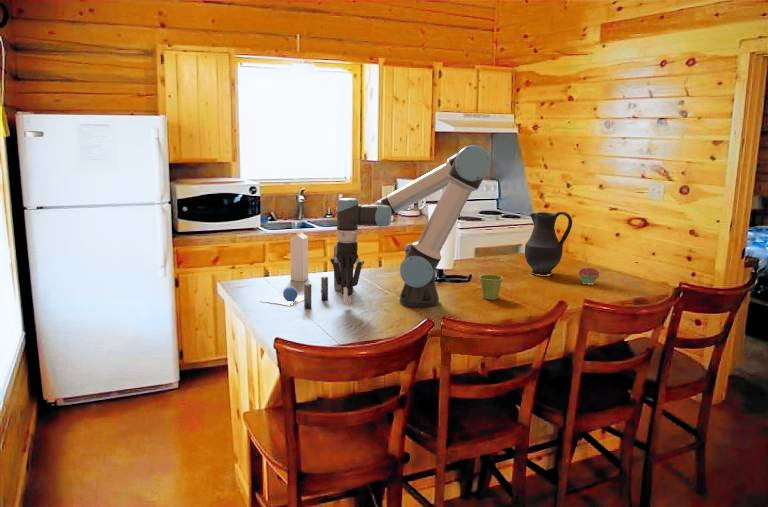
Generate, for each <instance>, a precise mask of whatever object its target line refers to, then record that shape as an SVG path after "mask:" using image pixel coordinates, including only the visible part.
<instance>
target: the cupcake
mask: <svg viewBox="0 0 768 507" xmlns="http://www.w3.org/2000/svg"><path fill="white" fill-rule="evenodd" d="M578 275H579V276H580V279H581V282H584V283H594V284H595V283H596V280H597V279H598V278H599V277H600V272H599V271H598V270H597V269H594V268H592V267H591V268H589V266H588V259H587V258H585V268H581V270H579V271H578Z"/></svg>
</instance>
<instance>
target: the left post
mask: <svg viewBox="0 0 768 507" xmlns="http://www.w3.org/2000/svg"><path fill="white" fill-rule="evenodd" d="M303 296H304V301H303V303H304V306H303V309H304V310H311V309H312V284H310V283H305V284H303Z"/></svg>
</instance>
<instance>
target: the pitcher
mask: <svg viewBox="0 0 768 507" xmlns="http://www.w3.org/2000/svg"><path fill="white" fill-rule="evenodd" d="M561 215H562V216H564V217H566V218H567V222H568V223H567V226H566V229H565V231H564V233H563V235H562V236H561V238H560V240H559V239H558V237H557V233H556V230H555V225H556V222H557V218H558V217H559V216H561ZM529 216H530V218H531V221H532V223H533V229H532V232H531V234H530V237H529V239H528V240H527V242H526V243H525V245H524V258H525V261H526V263H527V265H529V267H530V268H531V269H532V270H531V272H532V273H534V274H540V275H547V274H551V273H552V271H553V270H554V269H555V268H557V266H558V265H559V263H560V262H561V259H562V257H563V248H564V244H565V242H566V240H567V238H568V236H569V235H570V232H571V230H572V226H573V218H572V217H571V215H570V214H569V213H568V212H566V211H558V212H556V213H553V212H547V211H538V212H534V213H530V214H529ZM552 274H553V273H552Z"/></svg>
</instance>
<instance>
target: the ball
mask: <svg viewBox="0 0 768 507" xmlns="http://www.w3.org/2000/svg"><path fill="white" fill-rule="evenodd" d="M282 293H283V297H284V298H285V300H287V301H294V300H295V299H296V298H297V295H299V293H298V290H297V289H296V288H295V287H292V286H288V287H285V289H284V290H283V292H282Z"/></svg>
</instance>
